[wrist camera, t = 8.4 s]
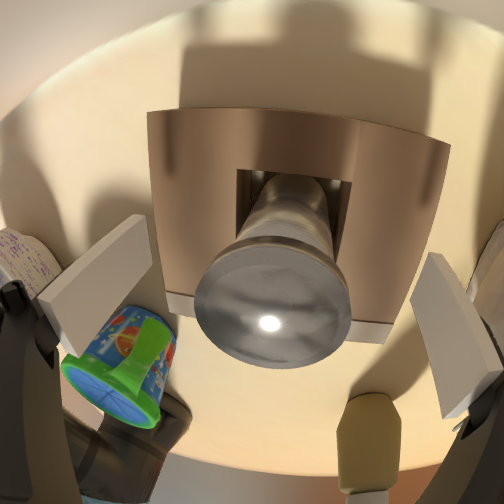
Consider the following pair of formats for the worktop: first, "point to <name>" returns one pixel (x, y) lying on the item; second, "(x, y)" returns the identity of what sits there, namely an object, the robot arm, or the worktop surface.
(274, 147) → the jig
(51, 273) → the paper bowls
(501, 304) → the ceramic pitcher
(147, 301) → the worktop surface
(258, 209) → the metal capped cylinder
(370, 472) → the squeeze bottle
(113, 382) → the snack cup
